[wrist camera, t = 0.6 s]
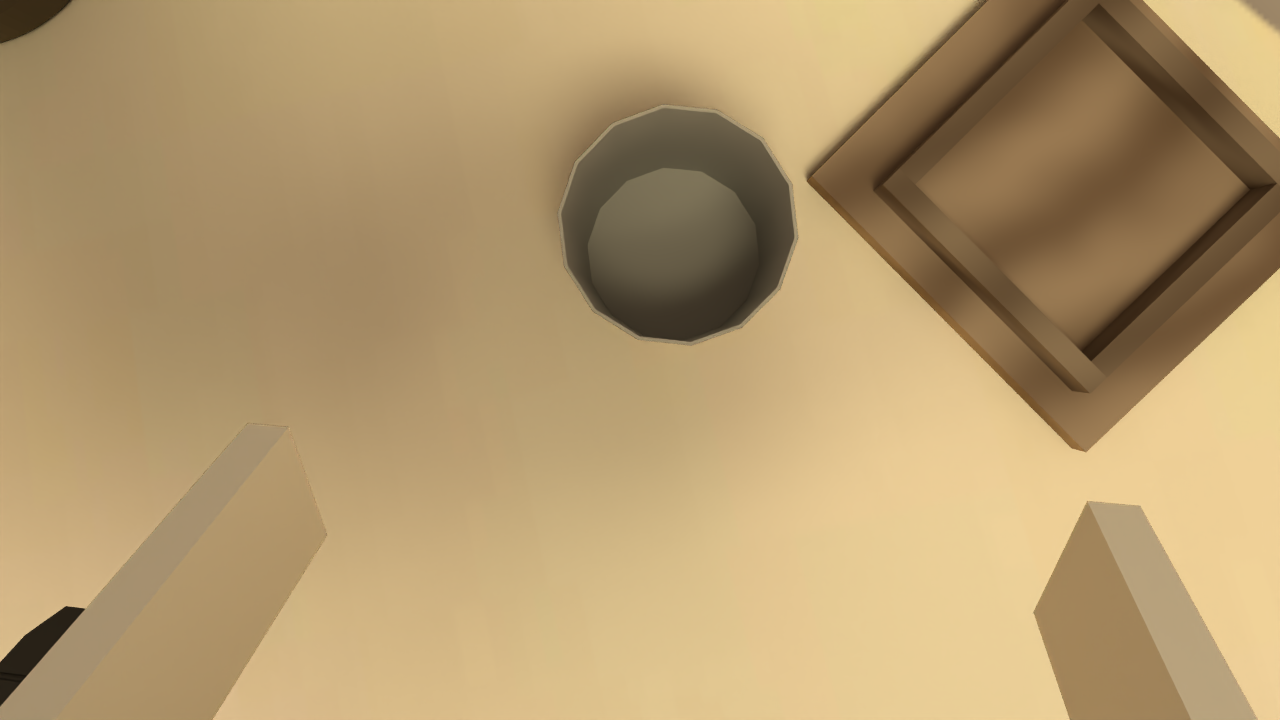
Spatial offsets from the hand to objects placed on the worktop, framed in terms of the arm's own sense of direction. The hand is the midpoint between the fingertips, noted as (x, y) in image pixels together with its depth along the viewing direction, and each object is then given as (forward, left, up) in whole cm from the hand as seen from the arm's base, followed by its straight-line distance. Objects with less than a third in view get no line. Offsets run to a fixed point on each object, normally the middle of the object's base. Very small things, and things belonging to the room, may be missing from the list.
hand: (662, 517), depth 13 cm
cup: (-5, +5, -24) cm, 25 cm away
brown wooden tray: (+6, +20, -24) cm, 32 cm away
